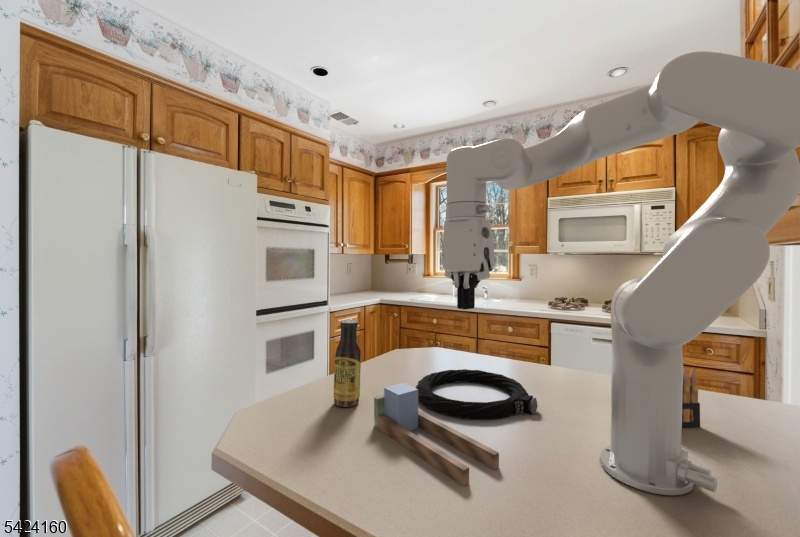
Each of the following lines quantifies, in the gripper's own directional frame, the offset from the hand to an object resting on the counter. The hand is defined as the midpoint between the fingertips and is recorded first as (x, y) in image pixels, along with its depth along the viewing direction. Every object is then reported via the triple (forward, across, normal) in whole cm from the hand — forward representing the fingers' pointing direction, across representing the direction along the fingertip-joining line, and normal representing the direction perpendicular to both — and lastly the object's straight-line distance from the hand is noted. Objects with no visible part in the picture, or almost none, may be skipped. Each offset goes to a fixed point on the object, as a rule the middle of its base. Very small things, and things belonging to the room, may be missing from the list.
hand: (465, 308), depth 71 cm
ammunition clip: (+25, -23, -37) cm, 50 cm away
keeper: (+25, +10, +8) cm, 28 cm away
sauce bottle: (+25, +28, +11) cm, 39 cm away
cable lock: (+26, +12, -16) cm, 33 cm away
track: (+25, +1, +8) cm, 26 cm away
